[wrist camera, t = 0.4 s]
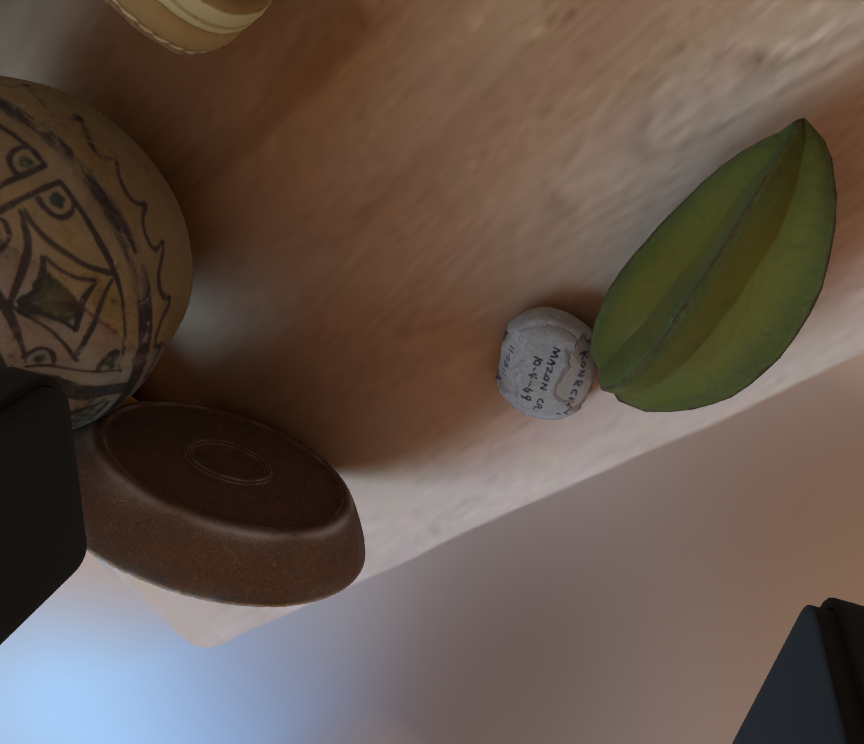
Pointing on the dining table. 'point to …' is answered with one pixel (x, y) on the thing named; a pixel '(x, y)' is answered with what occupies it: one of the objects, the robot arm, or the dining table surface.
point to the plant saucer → (215, 506)
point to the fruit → (722, 279)
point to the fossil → (546, 363)
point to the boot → (190, 21)
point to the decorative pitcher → (84, 250)
